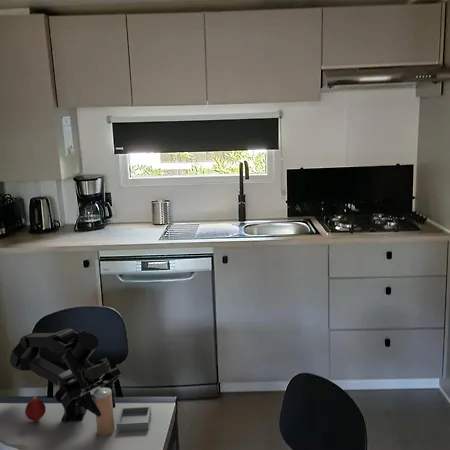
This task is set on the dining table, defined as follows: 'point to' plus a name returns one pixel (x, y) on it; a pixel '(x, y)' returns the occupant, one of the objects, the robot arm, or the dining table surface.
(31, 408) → the onion
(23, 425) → the dining table surface
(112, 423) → the brown cylinder grey top
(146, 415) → the tray
